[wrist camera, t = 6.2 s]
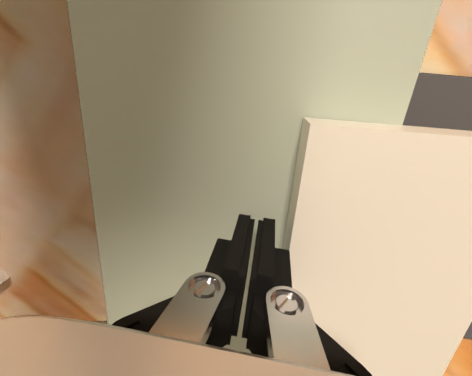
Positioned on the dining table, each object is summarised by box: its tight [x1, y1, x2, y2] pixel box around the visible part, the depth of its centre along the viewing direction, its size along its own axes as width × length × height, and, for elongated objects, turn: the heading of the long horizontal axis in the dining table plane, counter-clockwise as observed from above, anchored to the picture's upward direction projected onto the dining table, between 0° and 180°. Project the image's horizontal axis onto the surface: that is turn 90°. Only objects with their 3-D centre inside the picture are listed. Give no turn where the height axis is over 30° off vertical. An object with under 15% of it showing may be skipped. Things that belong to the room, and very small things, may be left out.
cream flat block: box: [283, 117, 472, 376], centre depth 12 cm, size 12×8×2 cm, turn 176°
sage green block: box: [67, 0, 442, 354], centre depth 15 cm, size 22×14×4 cm, turn 175°
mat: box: [403, 73, 472, 339], centre depth 15 cm, size 16×13×1 cm
